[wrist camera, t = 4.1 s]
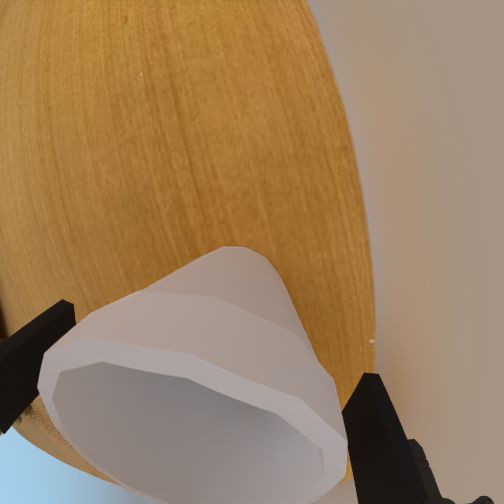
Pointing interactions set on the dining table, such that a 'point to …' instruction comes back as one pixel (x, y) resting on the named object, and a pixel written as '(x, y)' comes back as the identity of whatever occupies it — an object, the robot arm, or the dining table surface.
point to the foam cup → (200, 389)
